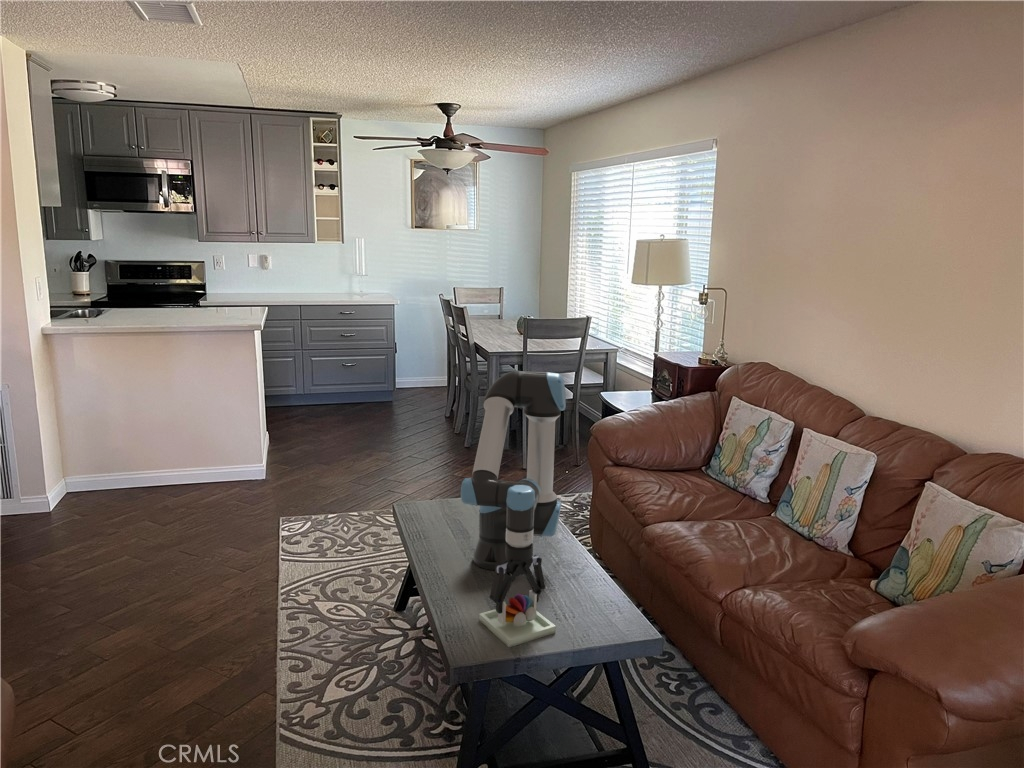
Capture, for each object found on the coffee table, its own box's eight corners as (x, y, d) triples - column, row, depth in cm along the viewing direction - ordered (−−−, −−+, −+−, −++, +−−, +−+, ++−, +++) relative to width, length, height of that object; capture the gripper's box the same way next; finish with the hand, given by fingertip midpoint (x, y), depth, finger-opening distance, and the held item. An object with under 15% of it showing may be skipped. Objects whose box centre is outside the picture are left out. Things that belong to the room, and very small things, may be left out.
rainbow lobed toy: (494, 619, 201) (494, 595, 199) (518, 608, 208) (519, 584, 206) (516, 631, 195) (516, 607, 194) (540, 619, 202) (541, 595, 200)
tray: (479, 620, 204) (479, 613, 204) (523, 607, 212) (524, 601, 212) (509, 647, 191) (509, 640, 191) (555, 632, 199) (555, 625, 199)
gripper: (491, 556, 188) (489, 634, 192) (560, 539, 200) (557, 614, 204) (477, 545, 194) (475, 622, 199) (545, 529, 206) (542, 602, 210)
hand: (517, 618), depth 201 cm, fingers closed on rainbow lobed toy, 9 cm apart
